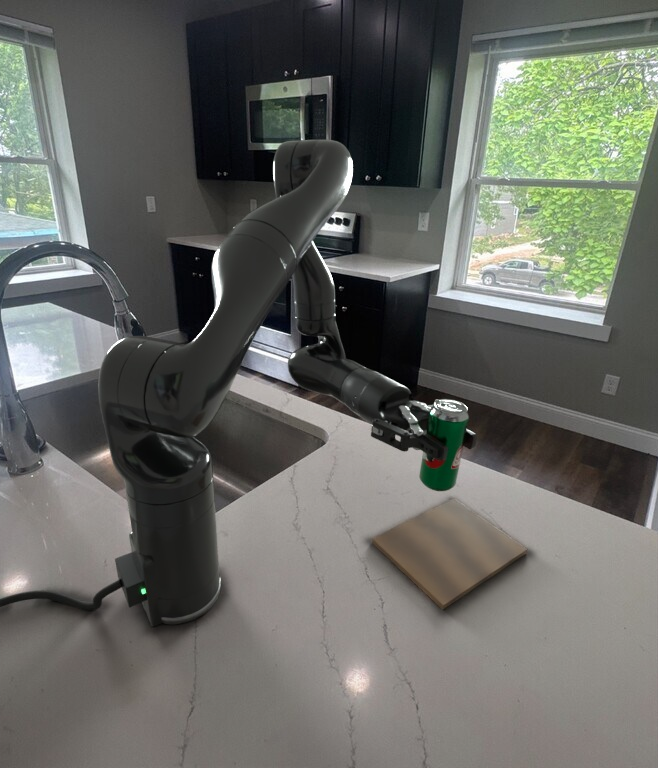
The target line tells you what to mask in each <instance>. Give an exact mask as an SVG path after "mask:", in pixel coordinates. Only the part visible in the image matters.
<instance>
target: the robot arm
mask: <svg viewBox="0 0 658 768" xmlns="http://www.w3.org/2000/svg"><path fill="white" fill-rule="evenodd" d="M353 167H354V164H353V159H352V156H351V153H350V150H349V149H348V147H346V146H345V144H343V143H342V142H339V141H337V140H333V139H326V138H325V139H297V140H296V139H295V140H286V141H284V142H282V143H281V144H280V145H279V146H278V147H277V149H276V150H275V153H274V157H273V163H272V175H273V176H272V177H273V187H274V193H275V198H273V199H271V200H270V201H268V202H266V203H263V204H262V205H260V206H258V207H256V208H254V209H253V210H251V211H250V212H248V213H247V214H246V215H244V216H243V217H241V219H240V220H239V221H238V222H237V223H236V224H235V225H234V226H233V227H232V229H231V230H230V231H229V232H228V234H227V235H226V236H225V238H224V239H223V240H222V241H221V243H220V244H219V246H218V247H217V248H216V250H215V253H214V255H213V258H212V262H211V271H210V273H211V284H212V291H213V292H212V293H213V301H214V309H213V311H212V314H211V315H210V317H209V320H207V322H206V323H205V326H204V327H203V328H202V329H201V331H200V332H199V334H198V335H197V336H196V337H195V338H194V339H193V340H192V341H190V342H187V343H182V342H177V341H173V340H166V339H162V338H158V337H157V338H156V337H152V336H145V335H131V336H127V337H124V338H122V339H120V340H118V341H116V342H115V343H114V344H113V345H112V346H111V347H110V348H109V349H108V351H107V352H106V354H105V355H104V358H103V360H102V363H101V365H100V369H99V374H98V380H97V386H98V387H97V393H98V395H97V397H98V402H99V409H100V414H101V418H102V423H103V427H104V428H103V429H104V431H105V435H106V441H107V444H108V449H109V453H110V458H111V461H112V464H113V466H114V468H115V470H116V472H117V474H119V476H120V477H121V478H122V480H123V483H124V488H125V495H126V500H127V508H128V514H129V521H130V527H131V532H130V533H129V534H128V539H129V543H130V549H131V550H130V551H131V552H129V553H126V554H123V555H121V556H119V557H115V558H114V562H115V563H114V564H115V569H116V573H117V578H118V579H117V580H115V581H114V582H112V583H110V584H108V585H106V586H105V587H103V588H101V589H100V590H99V591H97V592H96V593H95V595H94V596H93V599H92V601H85V600H80V599H78V598H75V597H72V596H70V595H67V594H65V593H61V592H57V591H52V590H45V589H44V590H29V591H23V592H18V593H15V594H10V595H7V596H4V597H1V598H0V608H2V607H5V606H8V605H11V604H15V603H19V602H24V601H29V600H40V599H42V600H50V601H54V602H57V603H61V604H64V605H67V606H71V607H73V608H77V609H79V610H83V611H96V610H98V609H99V608H101V606H102V604H103V599H104V598H105V597H107V596H109V595H110V594H112V593H115V592H116V591H118V590H120V589H122V592H123V594H124V597H125V600H126V603H127V606H128V608H132V607H134V606H136V605H138V604H141V603H142V609H143V610H144V612H145V614H146V616H147V619H148V621H149V624H150V626H151V627H157V626H159V625H161V624H164V625H177V624H178V625H179V624H184V623H188V622H190V621H193V620H196V619H197V618H200V617H201V616H203V615H204V614H206V613H207V612H208V611H209V610H210V609H212V607H214V605H215V604H216V602H217V601H218V599H219V597H220V595H221V594H220V593H221V589H222V583H221V581H222V580H221V575H220V573H221V572H220V565H219V564H220V563H219V549H218V547H219V546H218V533H217V531H218V530H217V514H216V498H215V485H214V483H215V482H214V481H215V480H214V468H213V467H214V466H213V458H212V455H211V452H210V451H209V449H208V448H207V447H206V446H207V445H205V444H203V442H202V441H200V440H199V439H197V438H196V436H198V435H200V434H201V433H202V432H203V431H204V430H206V429H207V428H208V427H209V426H210V424H211V423H212V422H213V420H214V419H215V418H216V416H217V414H218V413H219V412H220V410H221V408H222V406H223V404H224V402H225V400H226V399H227V396H228V394H229V392H230V390H231V388H232V386H233V384H234V381H235V379H236V377H237V375H238V373H239V371H240V368H241V366H242V364H243V362H244V360H245V358H246V356H247V353H248V351H249V349H250V347H251V345H252V344H253V341H254V339H255V338H256V336H257V334H258V332H259V330H260V329H261V327H262V325H263V323H264V322H265V319H266V318H267V316H268V315H269V313H270V311H271V309H272V307H273V306H274V305H275V303H276V301H277V300H278V298H279V297H280V295H281V294H282V293H283V292H284V290H285V288H286V286H288V283H289V281H290V280H291V278H292V287H293V288H292V289H293V303H294V304H293V305H294V319H295V320H294V321H295V328H296V330H297V332H298V333H300V334H301V335H303V336H306V337H307V336H308V337H317V338H318V342H317V343H313V344H310V345H307V346H306V345H305V346H302V347H300V348H297V349H295V350H294V351H293V352H291V354H290V355H289V357H288V360H287V370H288V371H287V372H288V374H289V375H290V377H291V379H292V380H293V381H294V383H295V384H297V385H298V386H299V387H301V388H302V389H305V390H308V391H311V392H314V393H318V394H319V395H325V396H329V397H332V398H334V399H336V400H337V401H338V402H340V403H341V404H342V405H345V406H346V407H347V408H348V409H349V410H350V411H351V412H352V413H354V414H355V415H356V416H358V417H360V418H361V419H363V420H364V421H366V422H367V423H369V424H370V425H371V429H370V437H371V438H373V439H375V440H378V441H379V442H382V443H384V444H386V445H388V446H390V447H393V448H395V449H396V450H399V451H401V452H403V453H404V452H408V451H409V449H411V448H412V449H413V450H415V451H422V453H423V452H425V453H426V454H428V455H429V456H431V457H432V458H435V459H437V460H439V461H443V460H445V459H446V457H447V452H448V447H447V445H445V444H444V443H442V442H440V441H439V440H437V439H435V438H433V437H432V436H430V435H429V434H426V431H427V425H428V418H429V412H430V409H431V408H432V407H433V406H434V402H435V401H437V400H440V398H439V399H434V402H433V404H427V403H425V402H421V401H419V400H416V399H415V398H414V396H413V393H412V392H411V390H410V389H409V388H408V387H407V386H405V385H403V384H401V383H399V382H397V381H396V380H394V379H391V378H390V377H388V376H386V375H384V374H382V373H380V372H378V371H376V370H373V369H370V368H367V367H365V366H364V365H362V364H360V363H358V362H356V361H354V360H351V359H348V358H347V357H346V353H345V352H346V351H345V349H344V346H343V343H342V339H341V335H340V332H339V329H338V328H339V327H338V325H337V321H336V289H335V283H334V280H333V277H332V274H331V271H330V269H329V267H328V266H327V264H326V261H325V260H324V258H323V257H322V256H321V253H320V252H319V250H318V248H317V245H316V244H315V242H314V240H315V238H316V237H317V235H318V234H319V232H320V231H321V230H322V228H323V227H324V226H325V225H326V224H327V222H328V221H329V220H330V219H331V218H332V216H333V215H334V214H335V213H336V212H337V211H338V209H339V208H340V207H341V206H342V204H343V203H344V201H345V199H346V197H347V196H348V193H349V190H350V188H351V184H352V180H353V175H354V174H353V173H354V168H353ZM396 436H397V437H400V440H398V439H396ZM477 440H478V436H477V434H476V433H475V432H473V431H471V430H470V429H468V428H467V430H466V435H465V440H464V445H463V448H464V447H465V448H466V449H468V450H472V449H474V448H476V444H477Z"/></svg>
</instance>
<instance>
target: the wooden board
mask: <svg viewBox="0 0 658 768" xmlns="http://www.w3.org/2000/svg"><path fill="white" fill-rule="evenodd" d="M371 544H372V545H373V546H375V547H376V549H378V551H380V552H381V554H383V555H384V556H385V557H386V558H387V559H388V560H389V561H390V562H392V564H393V565H394V566H395V567H397V568H398V569H399V570H400V572H402V573H403V574H404V575H405V576H406V577H407V578H408V579H409V580H410V581H411V582H413V583H414V584H415V585H416V586H417V587H418V588H419V589H420V590H421V591H422V592H423V593H424V594H425V595H426V596H427V597H429V599H431V600H432V602H434V604H436V605H437V606H438V607H439V608H440V610H442V611H443V610H445V609H447V608H448V607H449V606H451V605H452V604H453V603H455V602H456V601H458V600H459V599H461V598H463V597H464V596H466V595H467V594H468V593H470V592H472V591H473V590H474V589H476V588H477V587H479V586H481V585H482V584H483V583H485V582H486V581H488V580H490V579H491V578H492V577H494V576H495V575H497V574H498V573H499V572H501V571H502V570H504V569H506V568H507V567H508V566H510V565H511V564H513V563H515V562H516V561H517V560H519V559H520V558H522V557H523V556H525V555H526V554H527V553H528V548H527V547H525V546H524V545H522V544H521V543H519V542H518V541H516V540H515V539H514V538H512V537H510V536H509V535H508V534H507V533H505V532H504V531H502V529H501V530H500V529H499V528H498V527H497V526H495V525H493V524H492V523H491V522H489V521H488V520H486V519H485V518H483V517H482V516H481V515H479V514H478V513H476V512H475V511H473V510H472V509H470V508H469V507H468V506H466V505H465V504H463V503H462V502H461V501H459V500H457V498H451V499H450V500H447V501H446V502H444V503H442V504H439V505H438V506H435V507H433V508H431V509H429V510H427V511H425V512H423V513H421V514H419V515H417V516H415V517H413V518H411V519H409V520H407V521H404V522H402V523H401V524H399V525H397V526H395V527H393V528H391V529H389V530H386V531H385V532H382V533H381V534H378V535H377V536H374V537H372V538H371Z"/></svg>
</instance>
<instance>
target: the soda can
mask: <svg viewBox="0 0 658 768" xmlns="http://www.w3.org/2000/svg"><path fill="white" fill-rule="evenodd" d="M434 401H435V400H434ZM433 404H434V406H433V407H432V408H431V409H430V412H429V418H428V425H427V431H426V432H425V434H429V435H430V436H432V437H433V438H435V439H437V440H439V441H440V442H442V443H444V444H445V445H447V447H448V452H447V457H446V459H445V460H443V461H439V460H437V459H435V458H432V457H431V456H429V455H428V454H426V453H425V452H423V451H422V455H421V462H420V469H419V480H420V482H421V483H422V484H423V485H424V486H425V487H426V488H428V489H429V490H431V491H435V492H447V491H449V490H451V489H453V488H454V487H455V486H456V484H457V480H458V474H459V469H460V465H461V459H462V455H463V449H464V446H463V445H464V440H465V435H466V430H467V429H468V425H469V420H470V415H469V413H468V410H469V409H468V407H467V406H466V405H465V404H464V403H463V402H461V401H458V400H455V399H450V398H441V399H440V398H439V400H437V401H435V402H433Z"/></svg>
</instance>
